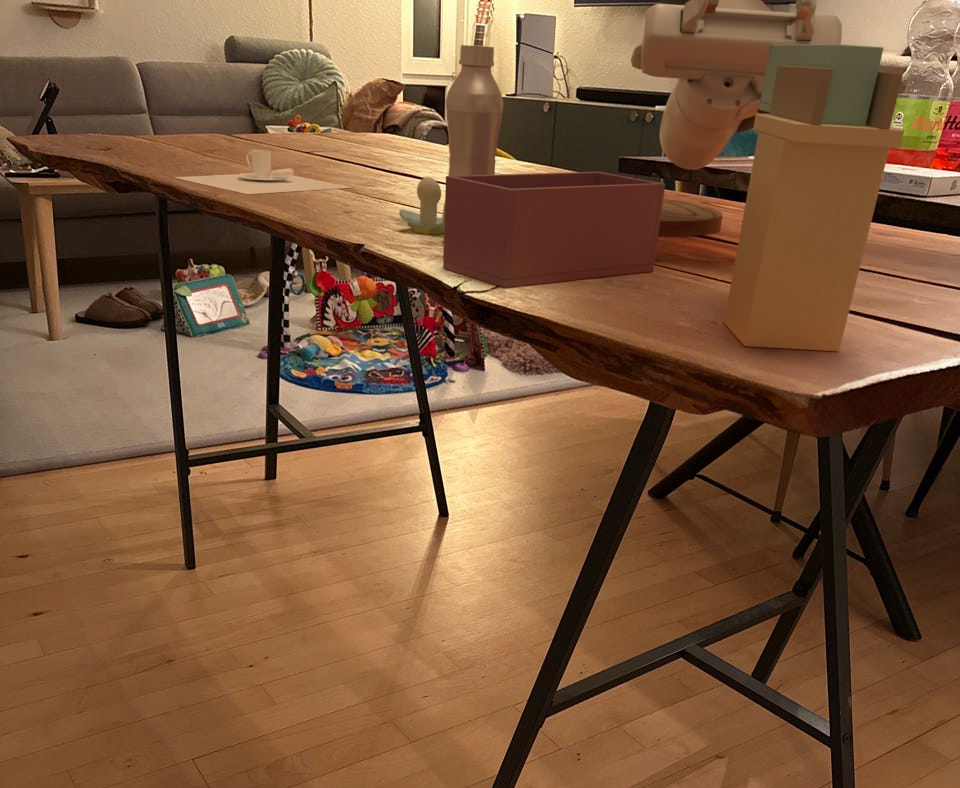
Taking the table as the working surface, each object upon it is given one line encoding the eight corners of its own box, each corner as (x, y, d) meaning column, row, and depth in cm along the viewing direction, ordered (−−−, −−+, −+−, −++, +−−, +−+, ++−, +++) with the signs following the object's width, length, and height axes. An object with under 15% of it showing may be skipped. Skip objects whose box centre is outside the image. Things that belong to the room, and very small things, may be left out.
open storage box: (589, 254, 112) (598, 171, 108) (653, 271, 106) (665, 183, 101) (442, 268, 101) (445, 175, 96) (503, 288, 94) (510, 189, 90)
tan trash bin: (718, 317, 88) (764, 64, 78) (805, 322, 89) (862, 70, 78) (749, 352, 78) (807, 67, 68) (847, 358, 78) (919, 74, 68)
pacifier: (410, 226, 123) (394, 232, 118) (411, 172, 120) (395, 175, 115) (465, 232, 122) (452, 237, 117) (467, 177, 119) (454, 181, 114)
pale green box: (758, 109, 87) (770, 44, 84) (798, 112, 87) (811, 47, 84) (817, 123, 71) (834, 44, 69) (865, 126, 71) (884, 47, 69)
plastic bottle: (460, 250, 110) (468, 45, 100) (431, 239, 115) (436, 43, 105) (506, 247, 113) (519, 48, 103) (476, 237, 118) (485, 46, 108)
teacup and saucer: (301, 182, 154) (300, 153, 151) (260, 184, 149) (258, 155, 146) (268, 175, 159) (267, 147, 156) (227, 177, 153) (225, 149, 151)
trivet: (576, 234, 124) (577, 218, 123) (523, 205, 145) (524, 191, 144) (751, 238, 130) (754, 223, 129) (677, 209, 151) (679, 196, 150)
